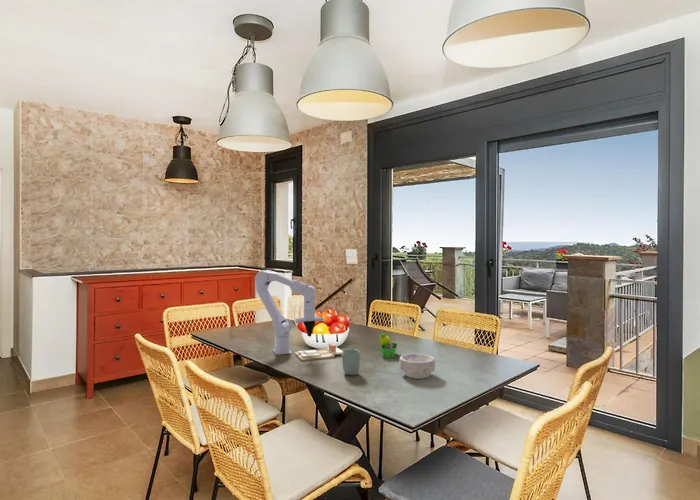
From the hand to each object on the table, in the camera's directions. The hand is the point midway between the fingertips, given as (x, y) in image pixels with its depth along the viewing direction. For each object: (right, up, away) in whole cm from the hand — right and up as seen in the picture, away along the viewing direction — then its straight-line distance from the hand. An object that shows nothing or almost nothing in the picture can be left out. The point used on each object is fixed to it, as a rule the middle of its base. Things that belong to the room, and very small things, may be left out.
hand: (309, 335), depth 214 cm
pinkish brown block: (+13, -8, +1) cm, 16 cm away
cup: (+21, -11, -31) cm, 39 cm away
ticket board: (+3, -10, -3) cm, 10 cm away
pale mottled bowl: (+50, -11, -32) cm, 60 cm away
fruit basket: (+40, -10, 0) cm, 41 cm away
